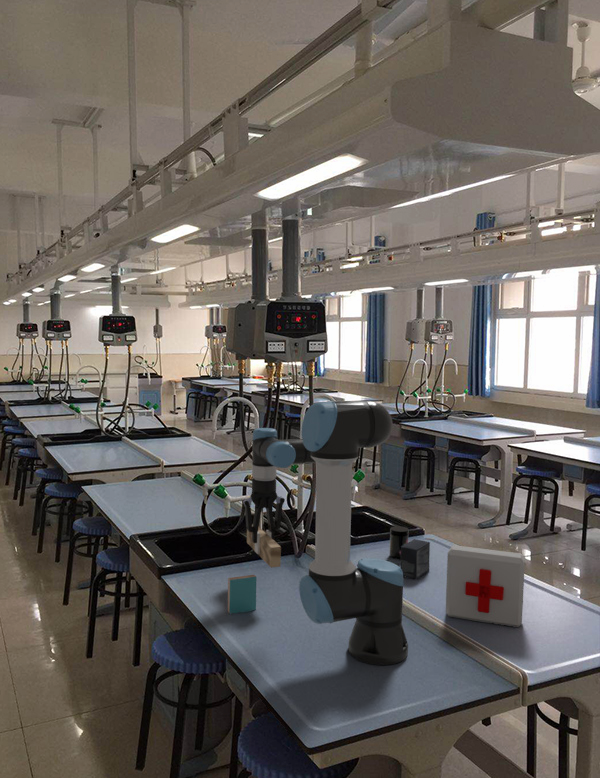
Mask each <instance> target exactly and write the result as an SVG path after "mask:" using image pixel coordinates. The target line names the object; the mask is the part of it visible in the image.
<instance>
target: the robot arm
mask: <svg viewBox="0 0 600 778" xmlns="http://www.w3.org/2000/svg"><path fill="white" fill-rule="evenodd" d="M392 431H393V419H392V416H391V414H390V412H389V411H388V410H387V408H385V406H384V405H382V404H380V403H378V402H376V401H372V400H365V399H364V400H326V401H320V402H319V401H318V402H315V403H313V404H311V405H310V406H309V407H308V408H307V410H306V412H305V413H304V417H303V419H302V423H301V438H295V439H294V438H293V439H292V438H291V439H278V438H279V437H278V431H277V429H276V428H271V427H259V428H258V427H257V428H255V429H254V430H253V432H252V440H251V441H252V461H251V462H252V463H251V464H252V467H251V469H252V470H251V476H252V479H251V494H250V495H249V498H247V499H245V498H244V499H242V504H243V506H244V515H245V528H246V531H247V530H248V531H249V532H252V541H253V543H255V551H254V552H255V553H256V554H257V555H258V554H260V533H259V532H258V528H259V527H260V520H261V515H262V511H263V509H265V511H266V519H267V525H268V529H266V530H265V533H266V534H267V535H268V536H270V537H271V538H272V539H273V540H274V541H275V532H276V530H280V529H281V522H282V514H283V506H284V503H285V502H286V499H285V498H284V497H282V496H280V495H279V496H278V494H277V479H276V478H277V468H280V469H286V468H288V467H290V466H292V465H304V464H316V477H315V478H316V479H315V480H316V482H315V483H316V486H315V487H316V489H315V490H316V491H315V535H314V536H315V544H314V545H315V546H314V547H315V548H314V549H315V550H314V552H315V553H314V555H315V556H314V559H313V560H312V561H311V562H310V563H309V564H308V574H305V575H304V576H302V577H301V578H300V581H299V584H298V586H299V587H298V588H299V590H298V592H299V596H300V601H301V604H302V607H303V610H304V612H305V614H306V616H307V617H308V618H309V619H310V621H312V623H314V624H317V625H320V624H321V625H322V624H334V623H336V622H341V621H347V620H352V619H353V620H354V619H355V622H354V625H353V628H352V631H351V634H350V636H349V639H348V652H349V654H350V655H351V656H352V657H353V658H355V659H356V660H358V661H360V662H363V663H365V664H370V665H377V666H390V665H395V664H398V663H401V662H402V661H404V660H405V659H406V658H407V657H408V654H409V644H408V640H407V637H406V633H405V629H404V627H403V604H404V603H403V599H404V598H403V597H404V587H405V582H404V577H403V572H402V570H401V566H399V565H397V564H396V563H394V562H391V561H388V560H384V559H379V558H371V557H370V558H368V557H366V558H361V559H359V560H358V561H357V564H356V565H355V564H354V562H353V561H352V560H351V529H352V528H351V525H352V523H351V522H352V521H351V520H352V481H353V480H352V476H353V473H352V472H353V470H352V469H353V463H354V462H356V461H357V460H358V458H359V449H364V448H367V449H368V448H373V447H377V446H380V445H382V444H384V443H385V442H386V441H387V440H388V439H389V438H390V436H391V435H392ZM275 502H276V504H275V512H273V511H274V510H273V504H274V503H275ZM252 503H253V504H254V513H253V518H252V507H251V506H252ZM273 514H274V515H273ZM252 524H253V525H252Z"/></svg>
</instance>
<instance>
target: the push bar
mask: <svg viewBox="0 0 600 778" xmlns="http://www.w3.org/2000/svg"><path fill="white" fill-rule="evenodd" d="M252 525H253V523H252ZM258 532H259V533H260V554H257V555H258V556H259V557H260V558H261V559H262V560H263V561H264V562H265V563H266V564H267V565H268V566H269V567H270V568H280V567H281V558H282V554H281V553H282V547H281V545H280V544H278V543H277V541H275V539H274V540H273V539H272V538H271V537H270V536H268V535H267V534H266V531H264V530H263V529H262V528H261V527H260V526H259V528H258ZM246 543H247V545H249V546H250V547H251V549H252V550H253V551H254V552H255V543H253V541H252V532H249V531H248V530H247V529H246Z"/></svg>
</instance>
